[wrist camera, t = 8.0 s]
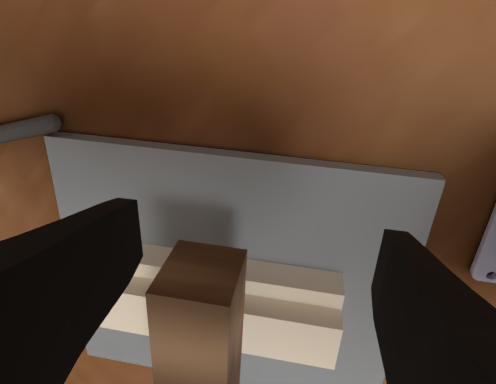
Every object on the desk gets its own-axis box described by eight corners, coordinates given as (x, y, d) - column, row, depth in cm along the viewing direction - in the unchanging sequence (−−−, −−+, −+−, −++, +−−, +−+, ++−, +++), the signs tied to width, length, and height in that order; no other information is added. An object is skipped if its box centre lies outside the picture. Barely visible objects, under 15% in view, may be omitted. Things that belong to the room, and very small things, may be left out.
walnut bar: (238, 406, 24) (223, 477, 20) (184, 396, 24) (161, 462, 20) (247, 249, 18) (229, 307, 15) (178, 239, 19) (145, 293, 15)
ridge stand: (440, 173, 19) (470, 214, 15) (372, 397, 27) (380, 463, 23) (54, 131, 22) (-3, 157, 18) (94, 344, 30) (60, 395, 26)
